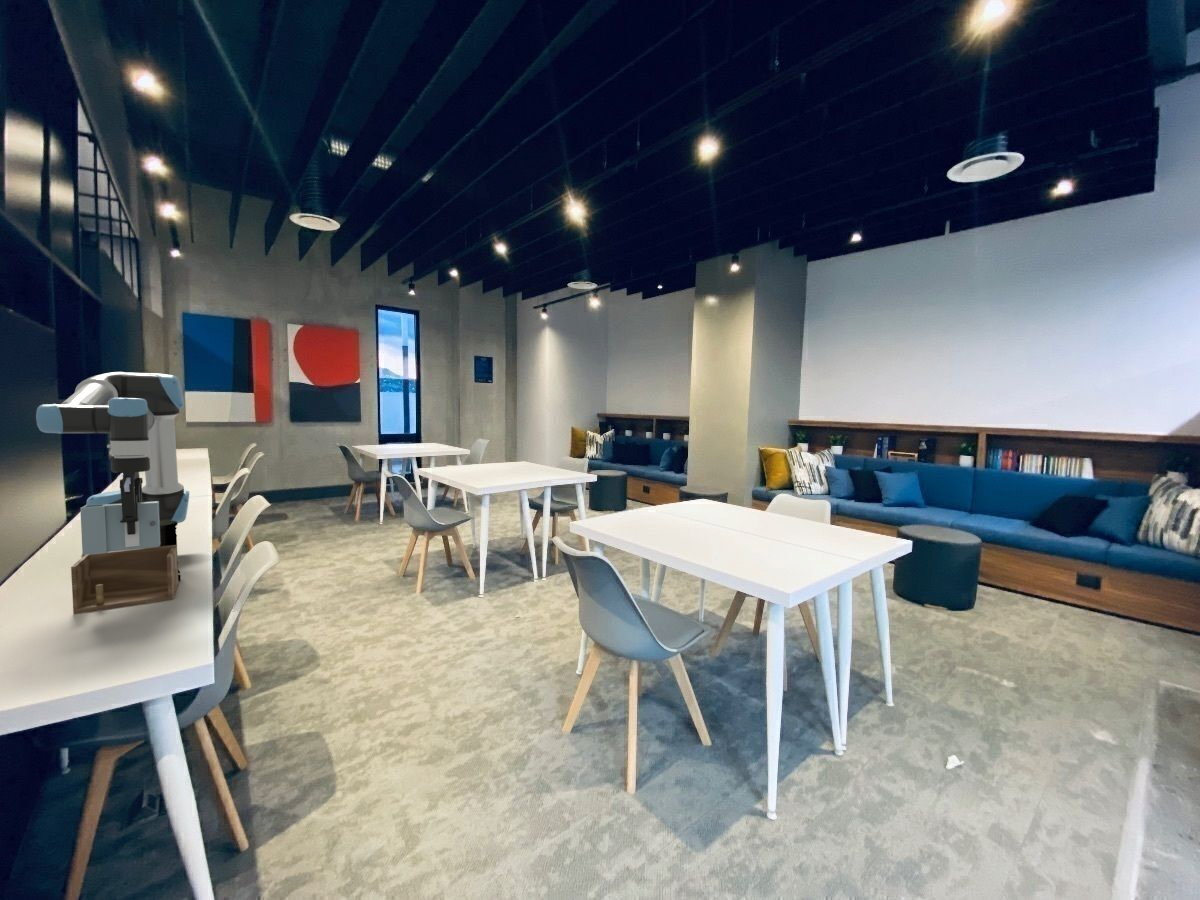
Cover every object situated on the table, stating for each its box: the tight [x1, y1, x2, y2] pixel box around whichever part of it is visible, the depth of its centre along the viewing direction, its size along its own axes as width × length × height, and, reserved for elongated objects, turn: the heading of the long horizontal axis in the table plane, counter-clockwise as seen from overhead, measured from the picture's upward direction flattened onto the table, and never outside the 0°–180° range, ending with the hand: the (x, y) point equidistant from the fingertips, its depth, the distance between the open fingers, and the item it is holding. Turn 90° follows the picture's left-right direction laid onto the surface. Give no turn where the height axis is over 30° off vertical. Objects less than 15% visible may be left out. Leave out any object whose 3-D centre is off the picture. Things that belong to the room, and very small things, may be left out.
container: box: [159, 521, 182, 582], centre depth 149 cm, size 9×9×18 cm
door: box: [80, 501, 160, 555], centre depth 131 cm, size 5×14×12 cm, turn 125°
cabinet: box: [70, 544, 179, 615], centre depth 136 cm, size 14×19×12 cm
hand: (134, 544), depth 133 cm, fingers closed on door, 3 cm apart
